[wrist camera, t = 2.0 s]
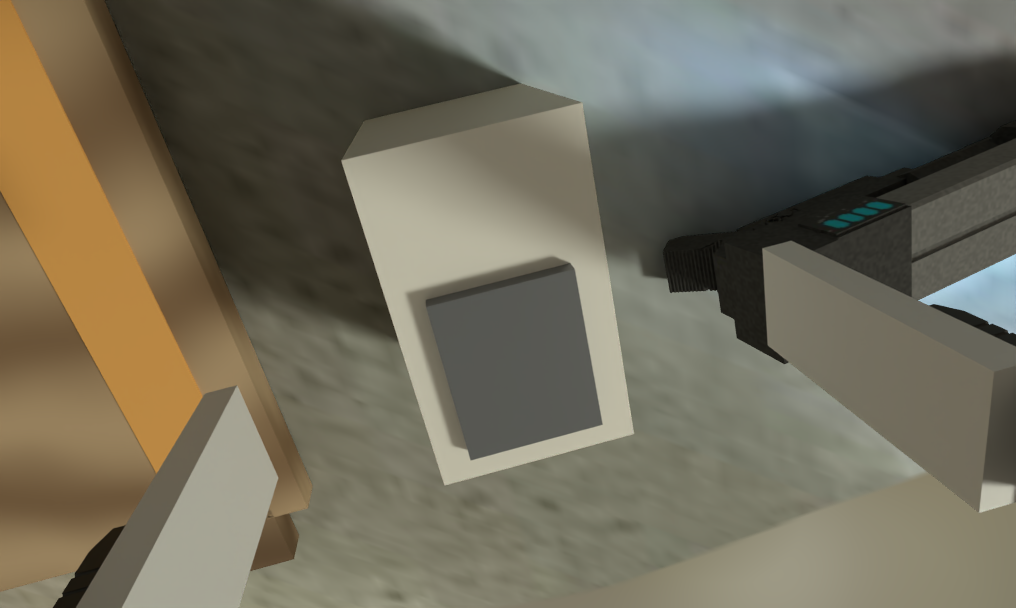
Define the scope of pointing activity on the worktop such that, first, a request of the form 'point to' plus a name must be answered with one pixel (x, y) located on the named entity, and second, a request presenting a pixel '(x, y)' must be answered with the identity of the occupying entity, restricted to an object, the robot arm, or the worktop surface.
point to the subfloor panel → (103, 301)
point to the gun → (869, 233)
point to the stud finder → (494, 275)
